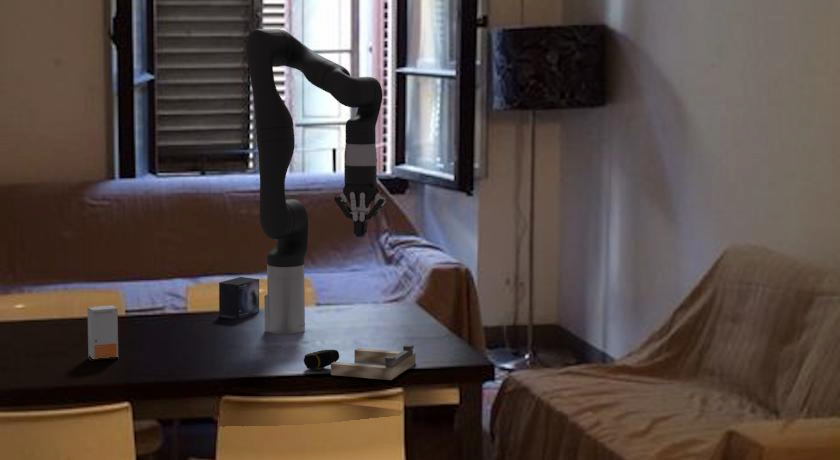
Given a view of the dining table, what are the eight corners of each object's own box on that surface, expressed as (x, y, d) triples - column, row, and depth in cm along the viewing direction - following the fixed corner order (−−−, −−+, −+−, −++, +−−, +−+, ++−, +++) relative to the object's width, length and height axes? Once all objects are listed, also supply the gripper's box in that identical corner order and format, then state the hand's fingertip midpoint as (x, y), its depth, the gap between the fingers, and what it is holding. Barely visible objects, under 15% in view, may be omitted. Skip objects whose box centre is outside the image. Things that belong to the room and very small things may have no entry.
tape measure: (342, 362, 288) (338, 346, 288) (325, 370, 282) (321, 353, 282) (318, 366, 291) (314, 350, 291) (300, 373, 285) (296, 357, 285)
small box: (239, 324, 336) (238, 284, 334) (217, 321, 338) (217, 282, 337) (261, 316, 345) (260, 278, 344) (240, 314, 348) (239, 276, 346)
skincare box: (92, 362, 293) (91, 310, 292) (88, 358, 297) (86, 306, 296) (119, 359, 296) (117, 307, 295) (114, 355, 300) (113, 304, 298)
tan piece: (330, 374, 282) (330, 354, 282) (357, 358, 297) (357, 339, 297) (391, 380, 278) (391, 359, 277) (415, 363, 293) (415, 344, 292)
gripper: (328, 163, 300) (328, 237, 302) (381, 165, 296) (381, 240, 298) (340, 161, 307) (340, 233, 309) (392, 162, 303) (392, 236, 305)
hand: (360, 236), depth 304 cm, fingers closed
